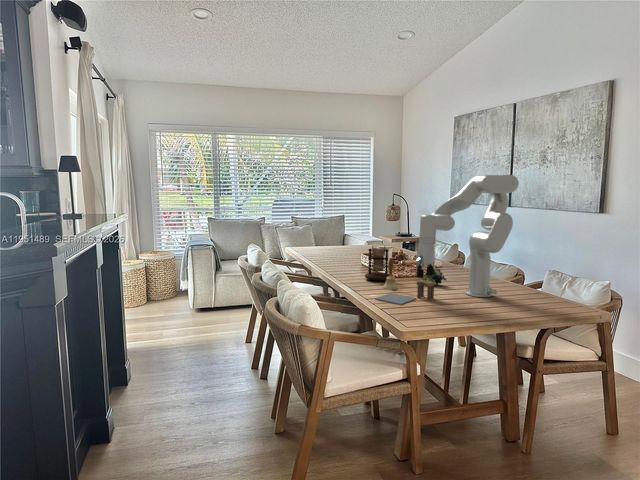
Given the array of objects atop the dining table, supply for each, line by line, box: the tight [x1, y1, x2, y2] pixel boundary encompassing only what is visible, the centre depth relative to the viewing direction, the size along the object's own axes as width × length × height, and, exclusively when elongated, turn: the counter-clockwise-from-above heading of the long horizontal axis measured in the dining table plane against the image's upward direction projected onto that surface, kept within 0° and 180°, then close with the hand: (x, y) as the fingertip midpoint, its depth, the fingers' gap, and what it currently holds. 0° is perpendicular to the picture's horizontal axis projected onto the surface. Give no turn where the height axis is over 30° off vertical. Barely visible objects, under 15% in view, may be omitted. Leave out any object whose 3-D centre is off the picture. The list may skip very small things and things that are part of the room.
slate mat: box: [374, 292, 417, 306], centre depth 197 cm, size 14×14×1 cm
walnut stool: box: [416, 279, 436, 301], centre depth 200 cm, size 7×5×8 cm
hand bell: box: [382, 257, 399, 290], centre depth 220 cm, size 8×8×16 cm
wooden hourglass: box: [364, 245, 390, 282], centre depth 240 cm, size 15×15×20 cm
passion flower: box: [421, 267, 447, 285], centre depth 227 cm, size 11×11×12 cm
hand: (424, 276), depth 199 cm, fingers open, 9 cm apart
